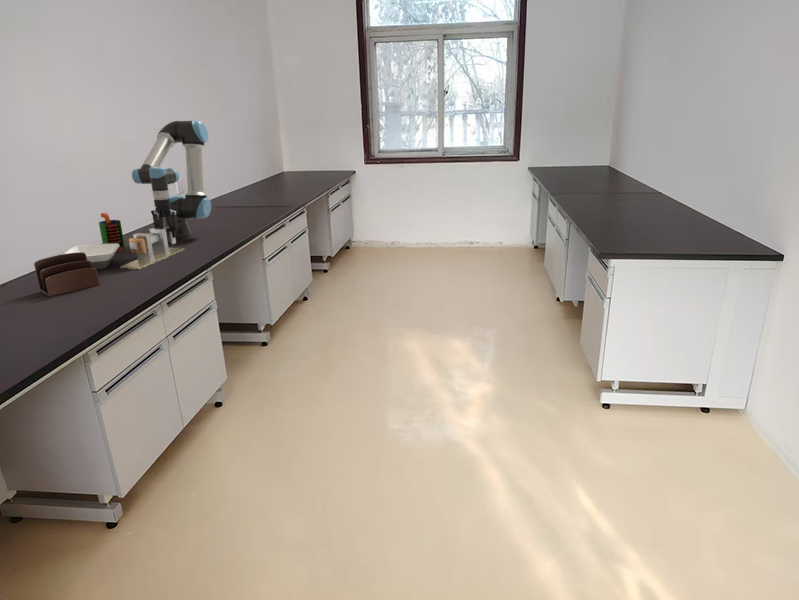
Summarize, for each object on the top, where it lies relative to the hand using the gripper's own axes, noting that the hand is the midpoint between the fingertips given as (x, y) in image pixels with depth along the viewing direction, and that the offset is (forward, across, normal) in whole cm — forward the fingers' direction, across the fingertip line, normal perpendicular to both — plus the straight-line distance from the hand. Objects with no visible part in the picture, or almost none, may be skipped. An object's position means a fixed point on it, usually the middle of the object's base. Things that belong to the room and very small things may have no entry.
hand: (168, 243), depth 280 cm
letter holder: (+5, -6, -60) cm, 61 cm away
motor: (+5, -31, -4) cm, 32 cm away
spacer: (-1, 0, -23) cm, 23 cm away
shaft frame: (+5, 0, -13) cm, 14 cm away
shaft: (-1, 0, -12) cm, 12 cm away
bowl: (+5, -19, -31) cm, 37 cm away
